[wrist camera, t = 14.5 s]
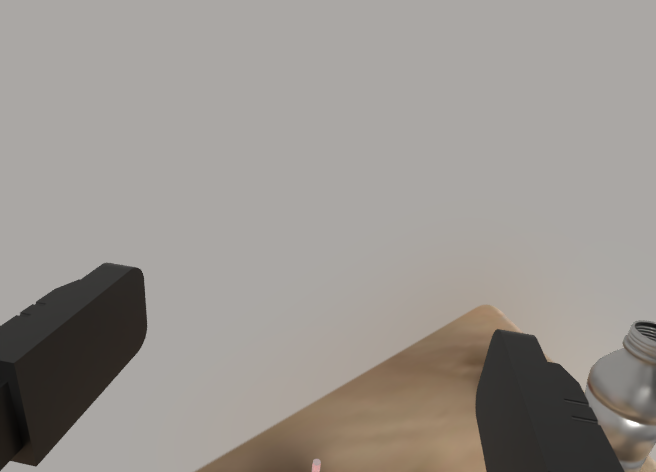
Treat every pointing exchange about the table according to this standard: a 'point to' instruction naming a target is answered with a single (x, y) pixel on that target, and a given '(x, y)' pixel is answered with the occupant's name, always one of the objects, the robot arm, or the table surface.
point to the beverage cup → (316, 465)
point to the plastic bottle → (627, 395)
